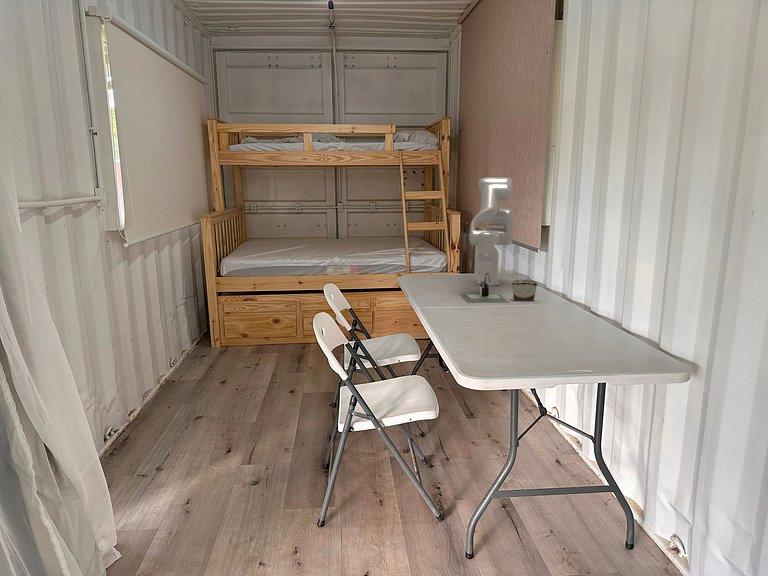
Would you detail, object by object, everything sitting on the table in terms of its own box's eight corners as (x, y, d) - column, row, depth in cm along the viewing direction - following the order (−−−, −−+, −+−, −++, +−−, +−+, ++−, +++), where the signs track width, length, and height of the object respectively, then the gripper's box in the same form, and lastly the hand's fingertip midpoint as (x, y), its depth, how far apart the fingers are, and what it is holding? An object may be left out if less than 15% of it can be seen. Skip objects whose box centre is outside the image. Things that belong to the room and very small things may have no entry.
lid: (466, 296, 262) (467, 285, 261) (496, 296, 263) (497, 285, 261) (470, 300, 253) (470, 289, 252) (501, 300, 254) (501, 288, 253)
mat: (459, 295, 267) (459, 294, 267) (498, 295, 268) (498, 293, 268) (467, 304, 248) (467, 302, 248) (509, 303, 249) (509, 302, 248)
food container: (534, 300, 257) (535, 279, 255) (536, 302, 251) (538, 282, 249) (508, 299, 258) (509, 279, 256) (510, 302, 252) (511, 281, 250)
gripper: (473, 255, 262) (472, 291, 266) (481, 260, 246) (480, 298, 249) (489, 255, 262) (487, 291, 266) (497, 260, 246) (495, 298, 249)
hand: (483, 294), depth 257 cm, fingers closed on lid, 4 cm apart
